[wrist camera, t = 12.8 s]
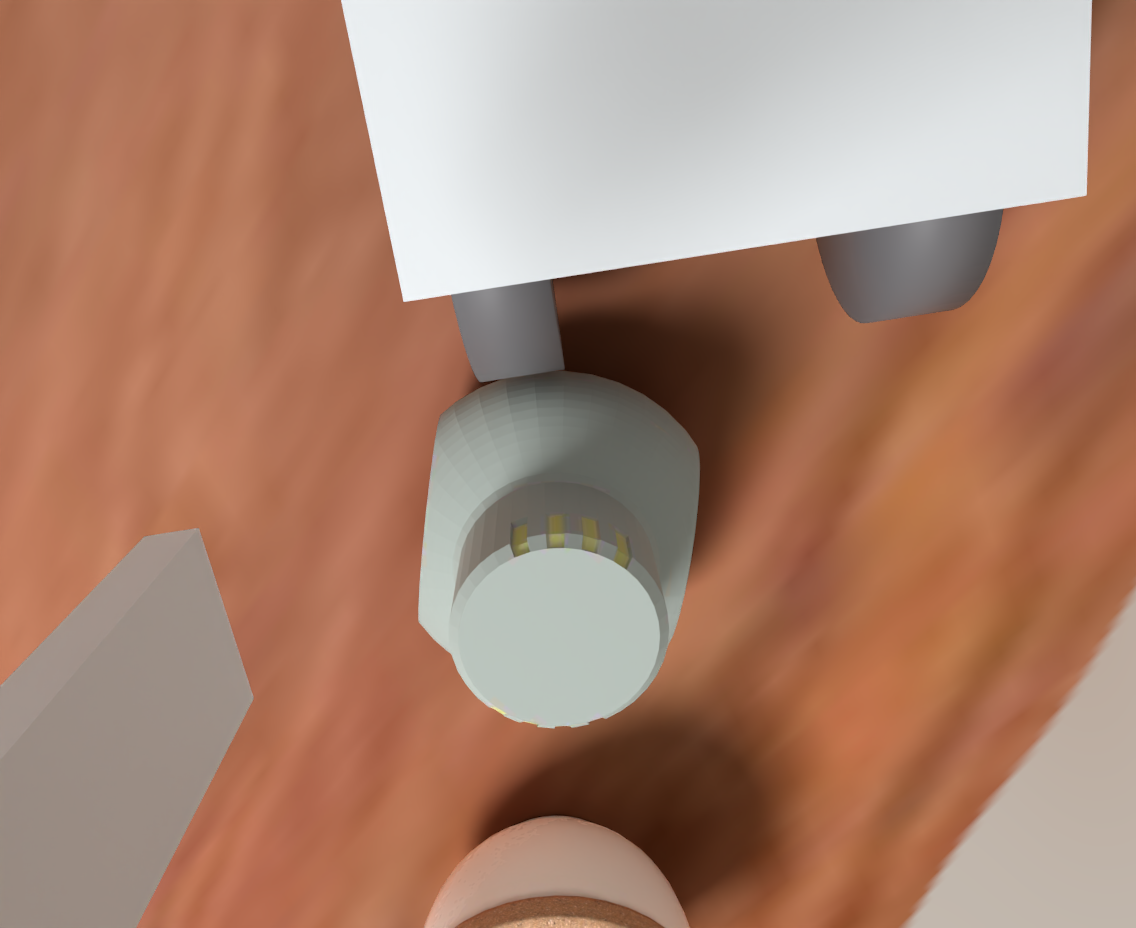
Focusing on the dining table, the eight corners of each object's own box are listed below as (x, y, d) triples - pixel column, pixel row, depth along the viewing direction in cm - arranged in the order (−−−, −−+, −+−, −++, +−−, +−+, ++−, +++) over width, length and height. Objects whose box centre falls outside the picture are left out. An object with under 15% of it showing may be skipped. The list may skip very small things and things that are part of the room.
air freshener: (643, 645, 37) (679, 824, 27) (426, 623, 36) (386, 797, 27) (692, 367, 33) (753, 462, 24) (453, 338, 33) (418, 423, 23)
